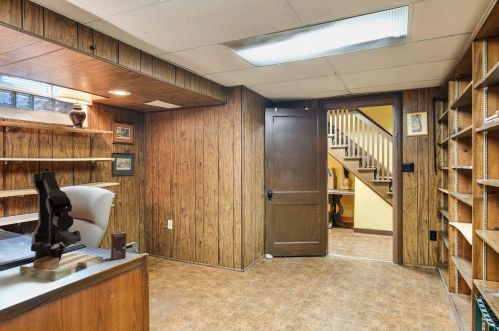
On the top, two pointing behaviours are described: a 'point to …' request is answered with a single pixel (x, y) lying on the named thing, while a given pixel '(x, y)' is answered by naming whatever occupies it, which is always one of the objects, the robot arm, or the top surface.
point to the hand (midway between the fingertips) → (57, 263)
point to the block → (46, 263)
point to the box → (118, 245)
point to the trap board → (62, 267)
